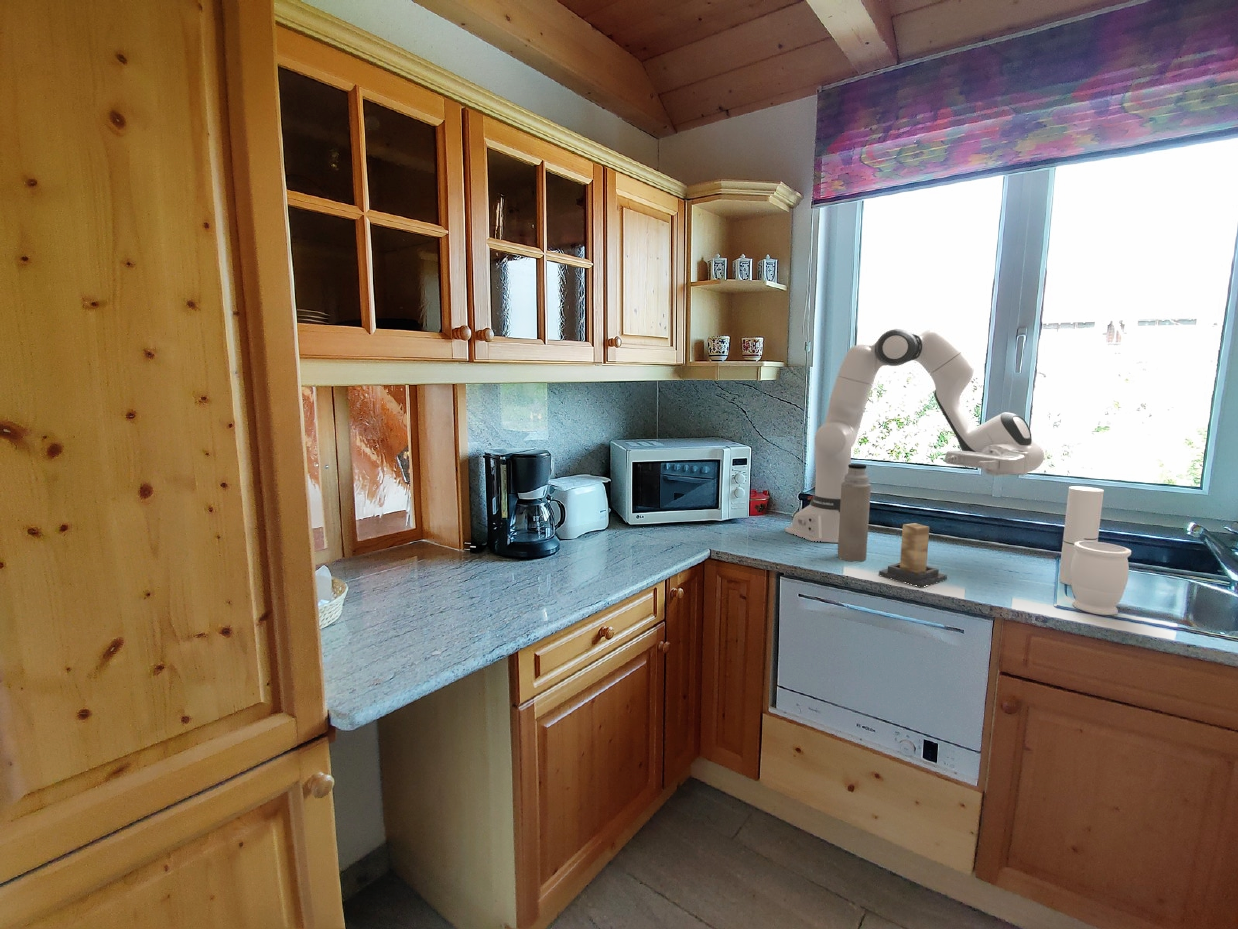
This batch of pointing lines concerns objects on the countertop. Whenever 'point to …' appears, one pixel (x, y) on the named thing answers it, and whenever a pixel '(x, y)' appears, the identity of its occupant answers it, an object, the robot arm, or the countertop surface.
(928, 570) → the dark rectangular socket base
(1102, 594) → the jar
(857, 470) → the thermos bottle
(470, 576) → the countertop surface
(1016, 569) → the countertop surface
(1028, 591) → the countertop surface
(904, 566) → the oak wick peg
